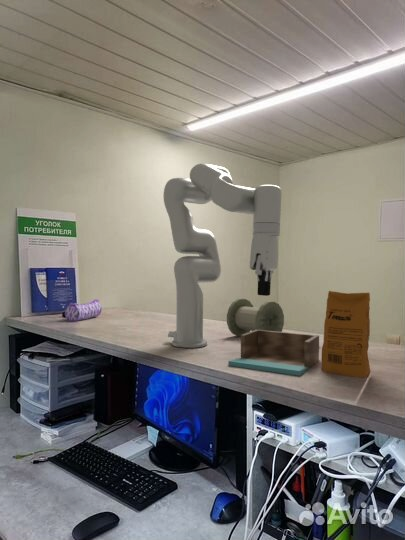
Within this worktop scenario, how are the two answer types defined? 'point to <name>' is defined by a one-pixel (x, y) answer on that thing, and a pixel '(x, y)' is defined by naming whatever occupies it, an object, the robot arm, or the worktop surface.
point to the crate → (280, 347)
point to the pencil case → (83, 311)
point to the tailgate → (268, 366)
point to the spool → (254, 317)
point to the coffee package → (346, 334)
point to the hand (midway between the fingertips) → (263, 295)
